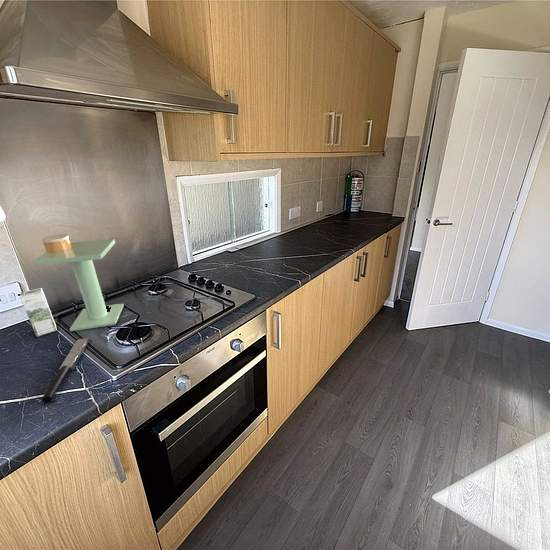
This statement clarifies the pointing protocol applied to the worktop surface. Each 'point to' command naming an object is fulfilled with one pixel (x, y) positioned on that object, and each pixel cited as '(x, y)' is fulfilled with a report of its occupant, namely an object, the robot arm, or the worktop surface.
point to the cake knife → (65, 368)
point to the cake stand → (83, 277)
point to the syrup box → (38, 311)
